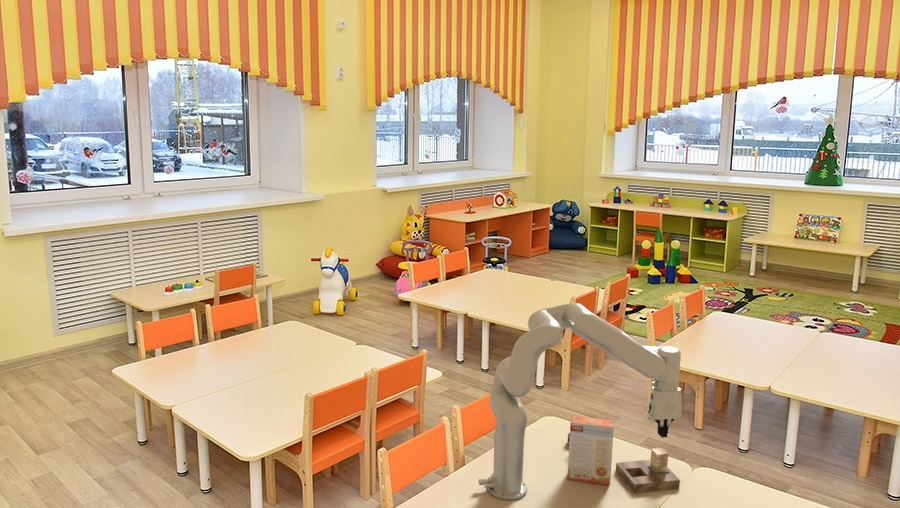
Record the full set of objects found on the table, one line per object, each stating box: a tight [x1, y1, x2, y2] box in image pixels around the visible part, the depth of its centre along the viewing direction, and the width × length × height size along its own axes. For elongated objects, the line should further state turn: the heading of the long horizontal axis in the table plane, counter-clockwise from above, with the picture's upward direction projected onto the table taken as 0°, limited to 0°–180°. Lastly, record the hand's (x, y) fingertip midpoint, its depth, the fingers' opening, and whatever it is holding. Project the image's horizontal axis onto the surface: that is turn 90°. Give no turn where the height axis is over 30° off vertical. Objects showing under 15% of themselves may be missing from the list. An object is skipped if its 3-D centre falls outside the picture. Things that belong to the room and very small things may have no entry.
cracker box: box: [567, 415, 615, 486], centre depth 235 cm, size 14×6×21 cm, turn 74°
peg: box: [650, 447, 669, 475], centre depth 237 cm, size 4×4×10 cm
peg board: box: [615, 459, 681, 494], centre depth 237 cm, size 16×14×3 cm
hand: (662, 435), depth 234 cm, fingers closed
